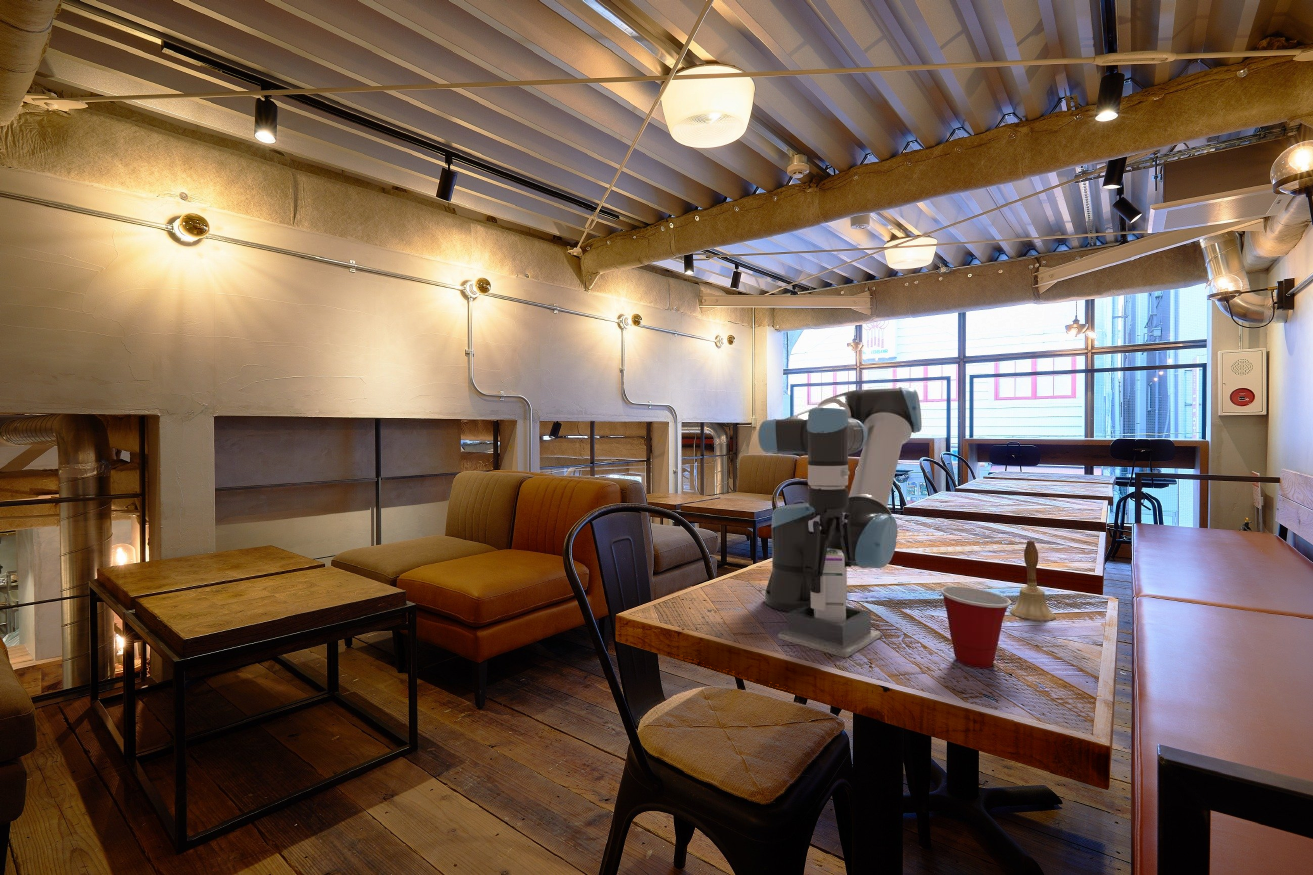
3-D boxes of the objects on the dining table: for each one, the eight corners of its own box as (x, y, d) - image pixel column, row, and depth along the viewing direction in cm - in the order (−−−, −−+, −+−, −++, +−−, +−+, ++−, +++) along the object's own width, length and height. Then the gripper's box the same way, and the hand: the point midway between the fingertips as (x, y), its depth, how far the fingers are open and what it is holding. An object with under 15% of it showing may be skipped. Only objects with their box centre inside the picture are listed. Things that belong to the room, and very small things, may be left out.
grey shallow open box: (778, 638, 112) (778, 612, 112) (815, 620, 122) (815, 597, 122) (846, 657, 102) (845, 629, 102) (880, 637, 112) (880, 611, 112)
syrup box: (847, 631, 109) (846, 554, 108) (814, 629, 110) (814, 553, 110) (843, 621, 114) (842, 548, 114) (812, 619, 115) (812, 547, 115)
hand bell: (1039, 623, 118) (1039, 546, 118) (1001, 612, 126) (1000, 539, 126) (1064, 617, 122) (1064, 542, 122) (1025, 606, 129) (1025, 536, 129)
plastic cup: (1023, 676, 94) (1023, 603, 93) (952, 673, 95) (952, 600, 95) (995, 651, 104) (995, 585, 104) (932, 648, 106) (932, 583, 106)
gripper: (818, 493, 102) (819, 621, 102) (870, 483, 116) (871, 596, 117) (782, 490, 107) (783, 612, 107) (835, 481, 121) (837, 589, 122)
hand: (829, 603), depth 112 cm, fingers closed on syrup box, 8 cm apart
